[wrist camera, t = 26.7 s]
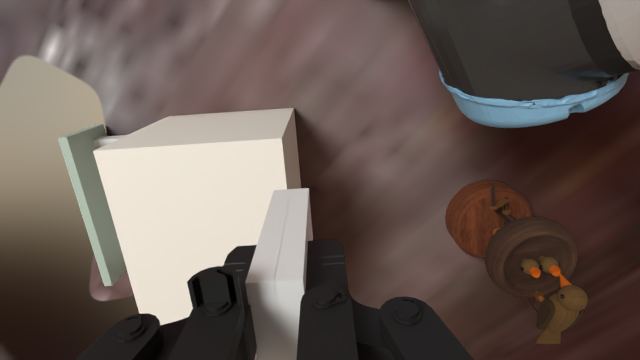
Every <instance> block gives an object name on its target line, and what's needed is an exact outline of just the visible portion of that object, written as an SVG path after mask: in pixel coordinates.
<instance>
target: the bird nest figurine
mask: <svg viewBox="0 0 640 360" xmlns="http://www.w3.org/2000/svg"><path fill="white" fill-rule="evenodd" d="M446 226H447V229H448V231H449V233H450V235H451V236H452V237H453V239H454V240H455V242H456V243H457V244H458V246H459V247H460V248H461V249H462V250H463V251H464V252H466V253H467V254H469V255H471V256H474V257H478V258H485V265H486V269H487V272H488V274H489V276H490V278H491V279H492V280H493V282H494V283H495V284H496V285H497V286H498V287H500V288H501V289H502V290H504V291H506V292H508V293H510V294H512V295H514V296H516V297H517V296H520V297H525V298H526V297H534V298H535V299H536V300H537V301H541V305H540V308H539V311H537V310H536V309H535V307H534V306H533V305H532V304H531V303H530V302H529V300H528V299H527V298H526V300H527V301H528V302H529V303H530V304H531V306H532V307H533V308H534V309H535V310H536V312H537V313H538V315H537V328H538V329H543V328H544V327H545V326H546V328H545V329H544V331H543V332H542V333H541V335H540V336H539V338H538V339H537V340H536V343H537V344H560V343H561V331H563V330H565V329H569V328H571V327H572V326H574V325H575V324H576V323H577V322H578V320H579V319H580V318H581V316H582V315H583V313H584V308H585V307H586V305H587V303H588V296H587V295H586V293H585V292H584V291H583V290H582V289H581V288H580V287H578V286H575V285H572V284H571V283H570V282H569V281H568V279H569V278H570V277H571V275H572V273H573V272H574V270H575V267H576V264H577V258H578V252H577V246H576V243H575V241H574V239H573V237H572V236H571V234H570V233H569V232H568V231H567V230H566V229H565V228H564V227H563V226H562V225H560V224H559V223H557V222H555V221H553V220H550V219H547V218H543V217H532V212H531V208H530V206H529V204H528V202H527V200H526V199H525V198H524V197H523V196H522V195H520V194H519V193H518V192H516V191H515V190H514V189H512V188H511V187H509V186H508V185H506V184H504V183H502V182H499V181H495V180H482V181H477V182H474V183H471V184H469V185H467V186H465V187H464V188H462V189H461V190H460V191H459V192H458V193H457V194H456V195H455V196H454V197H453V198H452V200H451V201H450V203H449V205H448V208H447V211H446ZM560 287H561V288H560ZM558 288H560V290H559V291H558V293H554V294H552V295H550V296H549V297H548V299H545V295H546V294H549V293H551V292H553V291H555V290H557V289H558Z"/></svg>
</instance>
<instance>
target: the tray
mask: <svg viewBox="0 0 640 360" xmlns="http://www.w3.org/2000/svg"><path fill="white" fill-rule="evenodd" d="M124 136H127V135H119V136H106V133H105V129H104V126H103V124H100V125H93V126H90V127H88V128H85V129H82V130H79V131H76V132H73V133H70V134H67V135H64V136H62V137H59V138H58V140H59V144H60V147H61V150H62V153H63V157H64V160H65V163H66V166H67V169H68V172H69V176H70V179H71V182H72V185H73V188H74V191H75V194H76V197H77V201H78V204H79V207H80V210H81V213H82V216H83V220H84V223H85V226H86V229H87V232H88V235H89V239H90V242H91V245H92V248H93V251H94V255H95V258H96V261H97V264H98V267H99V270H100V274H101V277H102V280H103V283H104V286H112V285H113V284H114V283H115V282H116V281H117V280H118V278H119V277H120V276H121V275H122V274H123V273H124V271H125V270H126V269H127V268H126V265H125V261H124V258H123V254H122V251H121V247H120V244H119V240H118V237H117V233H116V230H115V226H114V223H113V219H112V216H111V212H110V209H109V205H108V202H107V198H106V195H105V191H104V188H103V184H102V181H101V177H100V174H99V170H98V167H97V163H96V160H95V156H94V153H93V151H94V150H96V149H98V148H100V147H102V146H105V145H107V144H109V143H111V142H113V141H116V140H118V139H120V138H122V137H124Z"/></svg>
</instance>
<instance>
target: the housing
mask: <svg viewBox="0 0 640 360" xmlns="http://www.w3.org/2000/svg"><path fill="white" fill-rule="evenodd" d="M93 153H94V156H95V160H96V163H97V167H98V170H99V174H100V177H101V181H102V184H103V188H104V191H105V195H106V198H107V202H108V205H109V209H110V212H111V216H112V219H113V223H114V226H115V230H116V233H117V237H118V240H119V244H120V247H121V251H122V254H123V258H124V261H125V265H126V268H127V272H128V275H129V279H130V282H131V286H132V289H133V293H134V296H135V299H136V303H137V306H138V310H139V313H140V314H145V313H149V314H152V315H155V316H156V317H157V318H158V319H159V321H160V325H164V324H167V323H171V322H175V321H178V320H181V319H184V318H187V317H189V315H190V313H191V311H192V309H193V307H192V302H191V298H190V294H189V289H188V285H187V281H188V280H189V279H190V278H191V277H192V276H193V275H195V274H196V273H198V272H199V271H202V270H204V269H207V268H210V267H216V266H223V265H224V262H225V260H226V257H227V255H228V254H229V253H230V252H231V251H232V250H233V249H234V248H236V247H237V246H248V245H257V243H258V240H259V237H260V233H261V230H262V227H263V224H264V221H265V217H266V214H267V211H268V208H269V204H270V201H271V198H272V195H273V191H274V190H286V189H301V180H300V169H299V158H298V147H297V135H296V124H295V113H294V108H281V109H266V110H252V111H237V112H222V113H208V114H193V115H178V116H168V117H166V118H164V119H162V120H159V121H157V122H155V123H153V124H151V125H149V126H146V127H144V128H142V129H140V130H138V131H135V132H133V133H131V134H129V135H127V136H124V137H122V138H120V139H118V140H116V141H113V142H111V143H109V144H107V145H105V146H102V147H100V148H98V149H96V150H94V151H93Z"/></svg>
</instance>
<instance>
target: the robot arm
mask: <svg viewBox="0 0 640 360" xmlns="http://www.w3.org/2000/svg"><path fill="white" fill-rule="evenodd" d="M408 3H409V5H410V7H411V9H412V11H413V13H414V15H415V18H416V20H417V22H418V24H419V26H420V28H421V30H422V33H423V35H424V37H425V39H426V41H427V43H428V45H429V48H430V50H431V52H432V54H433V56H434V58H435V60H436V63H437V65H438V67H439V69H440V71H439V75H440V79H441V81H442V83H443V84H444V85H445V86H446V88H447V89H448V90H449V91H450V93H451V95H452V96H453V98H454V100H455V102H456V104H457V106H458V108H459V109H460V111H461V112H462V113H463V114H464V115H465V116H466V117H467V118H469V119H471V120H472V121H474V122H476V123H479V124H481V125H485V126H490V127H497V128H521V127H530V126H538V125H543V124H548V123H552V122H556V121H560V120H564V119H567V118H568V116H569V114H570V113H574V112H587V111H589V110H591V109H593V108H595V107H597V106H600V105H601V104H603V103H605V102H606V101H608V100H609V99H610V98H612V97H613V96H614V95H616V94H617V93H618V92H619V91H620V90H621V88H622V87H623V86H624V84H625V83H626V80H627V76H628V75H629V72H634V71H638V70H640V0H408ZM187 285H188V289H189V294H190V298H191V302H192V307H193V309H192V311H191V313H190V315H189V317H187V318H184V319H181V320H178V321H175V322H171V323H167V324H164V325H160V321H159V319H158V318H157V317H156V316H155V315H152V314H149V313H145V314H137V315H132V316H129V317H126V318H124V319H122V320H120V321H118V322H117V323H115V324H114V325H113V326H111V327H110V328H109V329H108V330H107V331H105V332H104V333H103V334H102V335H101V336H100V337H99V338H98V339H97V340H96V341H95V342H94V343H93V344H92V345H91V346H90V347H89V348H88V349H86V350H85V351H84V352H83V353H82V354H81V355H80V356H79V357H78V358H77V359H76V360H254V358H255V354H257V360H474V359H473V358H472V357H471V356H470V354H469V353H468V352H467V351H466V350H465V348H464V347H463V346H462V345H461V343H460V342H459V341H458V340H457V339H456V337H455V336H454V335H453V334H452V332H451V331H450V330H449V329H448V328H447V326H446V325H445V324H444V323H443V321H442V320H441V319H440V318H439V317H438V315H437V314H436V313H435V312H434V310H433V309H432V308H431V307H430V306H429V305H427V304H426V303H425V302H423V301H421V300H418V299H416V298H411V297H395V298H393V299H390V300H388V301H386V302H385V303H384V304H383V305H382V306H381V309H376V308H371V307H367V306H364V305H362V304H360V303H358V302H356V301H355V300H354V299H353V298H352V297H351V296H350V294H349V291H348V283H347V276H346V268H345V260H344V252H343V246H342V245H341V244H340V243H339V242H338V241H337V240H336V239H328V240H313V232H312V220H311V208H310V196H309V188H301V189H286V190H274V191H273V195H272V198H271V201H270V204H269V208H268V211H267V214H266V217H265V221H264V224H263V227H262V230H261V233H260V237H259V240H258V243H257V245H248V246H237V247H236V248H234V249H233V250H232V251H231V252H230V253H229V254H228V255H227V257H226V260H225V262H224V265H223V266H216V267H210V268H207V269H204V270H202V271H199V272H198V273H196V274H195V275H193V276H192V277H191V278H190V279H189V280H188V281H187Z"/></svg>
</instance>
